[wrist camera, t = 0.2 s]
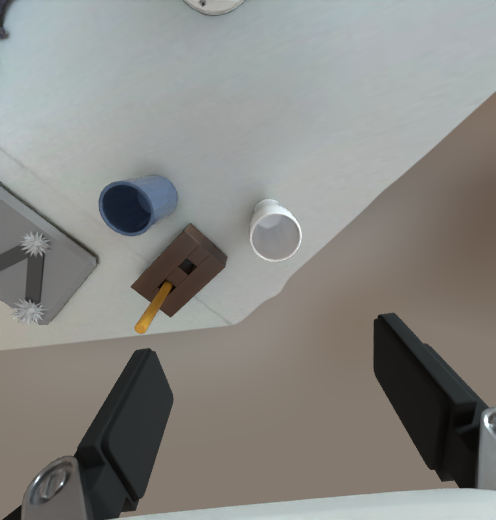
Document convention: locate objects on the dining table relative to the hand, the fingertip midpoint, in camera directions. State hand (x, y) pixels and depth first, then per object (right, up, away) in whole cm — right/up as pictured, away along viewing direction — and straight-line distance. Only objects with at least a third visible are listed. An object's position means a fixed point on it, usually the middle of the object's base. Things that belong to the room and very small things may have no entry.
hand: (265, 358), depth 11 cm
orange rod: (-16, +1, +40) cm, 43 cm away
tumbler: (-17, +15, +34) cm, 41 cm away
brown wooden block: (-14, +3, +39) cm, 41 cm away
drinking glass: (+3, +13, +35) cm, 38 cm away
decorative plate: (-47, +7, +38) cm, 61 cm away
